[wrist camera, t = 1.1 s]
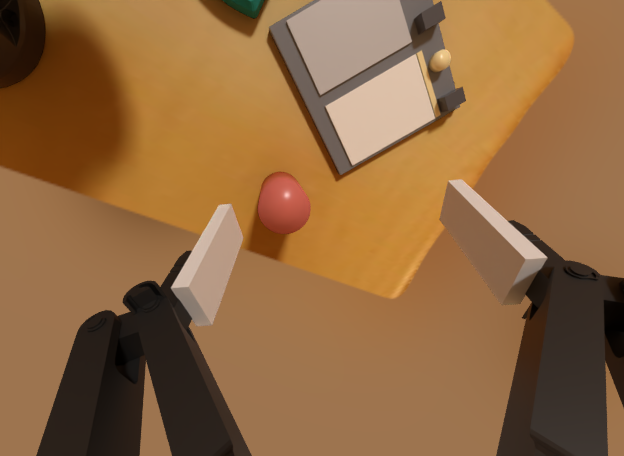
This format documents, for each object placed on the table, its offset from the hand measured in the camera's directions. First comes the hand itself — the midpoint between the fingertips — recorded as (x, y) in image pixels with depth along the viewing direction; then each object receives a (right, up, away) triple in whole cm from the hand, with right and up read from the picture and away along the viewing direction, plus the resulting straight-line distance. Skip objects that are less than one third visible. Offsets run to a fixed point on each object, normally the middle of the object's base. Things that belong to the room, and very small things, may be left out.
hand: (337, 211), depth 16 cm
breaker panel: (+6, +19, +17) cm, 26 cm away
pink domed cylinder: (-6, +4, +20) cm, 21 cm away
